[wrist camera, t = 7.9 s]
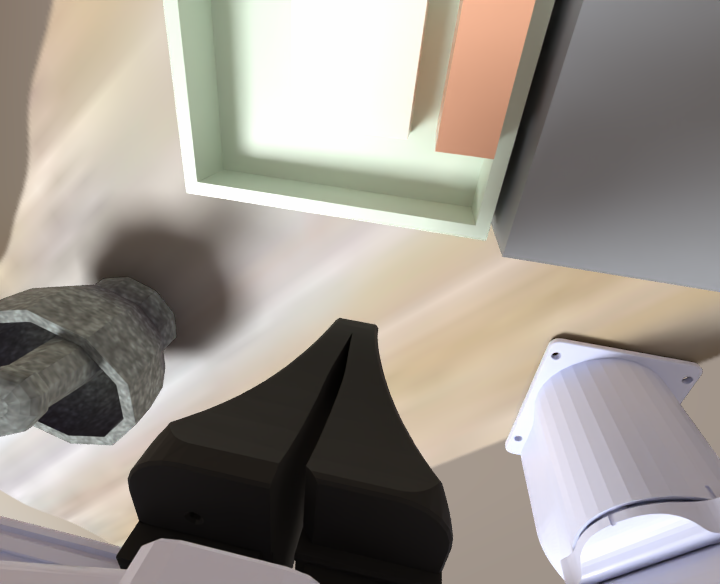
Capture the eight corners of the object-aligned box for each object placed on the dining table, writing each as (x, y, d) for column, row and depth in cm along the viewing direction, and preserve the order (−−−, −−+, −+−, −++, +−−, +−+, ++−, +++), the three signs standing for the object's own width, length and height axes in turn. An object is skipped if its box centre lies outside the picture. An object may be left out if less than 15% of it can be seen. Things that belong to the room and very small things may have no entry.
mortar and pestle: (156, 389, 31) (14, 551, 20) (49, 308, 28) (-173, 446, 18) (238, 312, 26) (103, 478, 15) (116, 207, 23) (-141, 317, 13)
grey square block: (746, 259, 19) (827, 309, 15) (489, 219, 20) (502, 256, 16) (973, -79, 13) (1210, -145, 9) (582, -108, 14) (639, -177, 10)
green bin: (480, 218, 20) (486, 240, 17) (216, 177, 21) (186, 192, 19) (568, -109, 14) (598, -150, 11) (191, -137, 15) (140, -179, 12)
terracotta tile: (494, 159, 13) (434, 151, 14) (480, 137, 18) (435, 131, 18) (542, -28, 11) (469, -34, 11) (513, -1, 15) (460, -6, 15)
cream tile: (291, 125, 17) (304, 120, 19) (407, 139, 16) (410, 133, 18) (291, -23, 14) (307, -13, 16) (428, -11, 14) (429, -2, 16)
